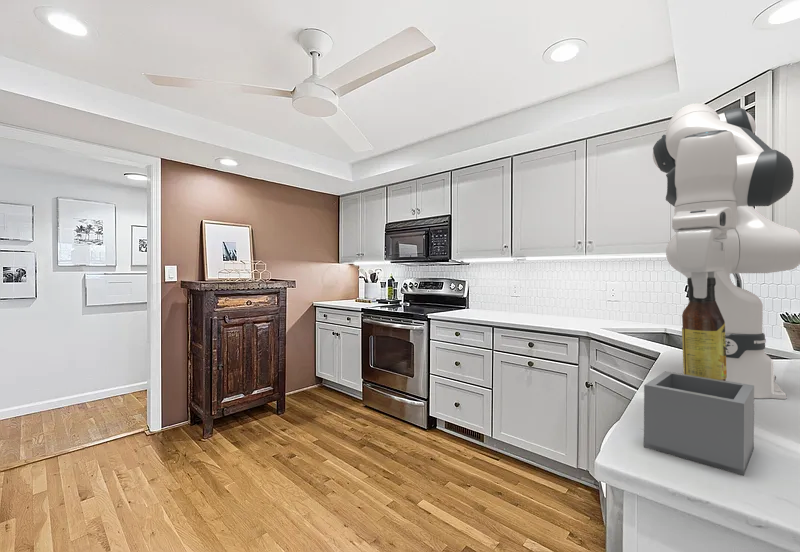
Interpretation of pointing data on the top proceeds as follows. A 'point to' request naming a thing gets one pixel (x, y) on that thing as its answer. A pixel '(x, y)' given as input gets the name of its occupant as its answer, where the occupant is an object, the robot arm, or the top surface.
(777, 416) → the top surface
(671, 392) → the bin
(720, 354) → the sauce bottle
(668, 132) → the robot arm
